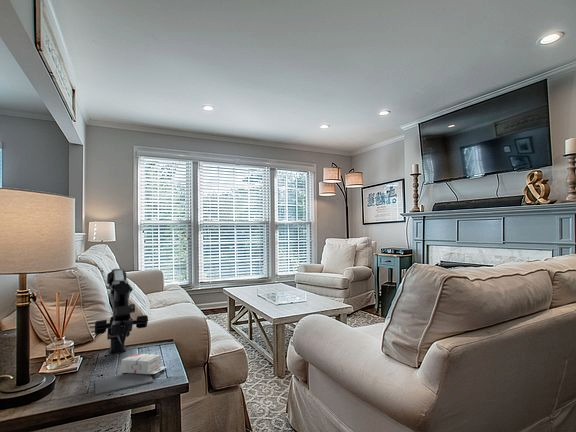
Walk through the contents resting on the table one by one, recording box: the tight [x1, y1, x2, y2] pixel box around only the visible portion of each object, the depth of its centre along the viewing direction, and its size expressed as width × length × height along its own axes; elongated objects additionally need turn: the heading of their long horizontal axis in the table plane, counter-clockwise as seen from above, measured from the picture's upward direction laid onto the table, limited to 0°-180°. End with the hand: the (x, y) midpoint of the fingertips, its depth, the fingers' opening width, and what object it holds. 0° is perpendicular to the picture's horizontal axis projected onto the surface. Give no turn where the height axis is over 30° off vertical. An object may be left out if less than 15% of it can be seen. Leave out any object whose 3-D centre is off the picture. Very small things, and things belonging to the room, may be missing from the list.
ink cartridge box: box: [120, 353, 168, 375], centre depth 128 cm, size 9×5×15 cm
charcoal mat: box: [94, 373, 154, 396], centre depth 119 cm, size 11×18×1 cm, turn 121°
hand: (122, 344), depth 126 cm, fingers closed
